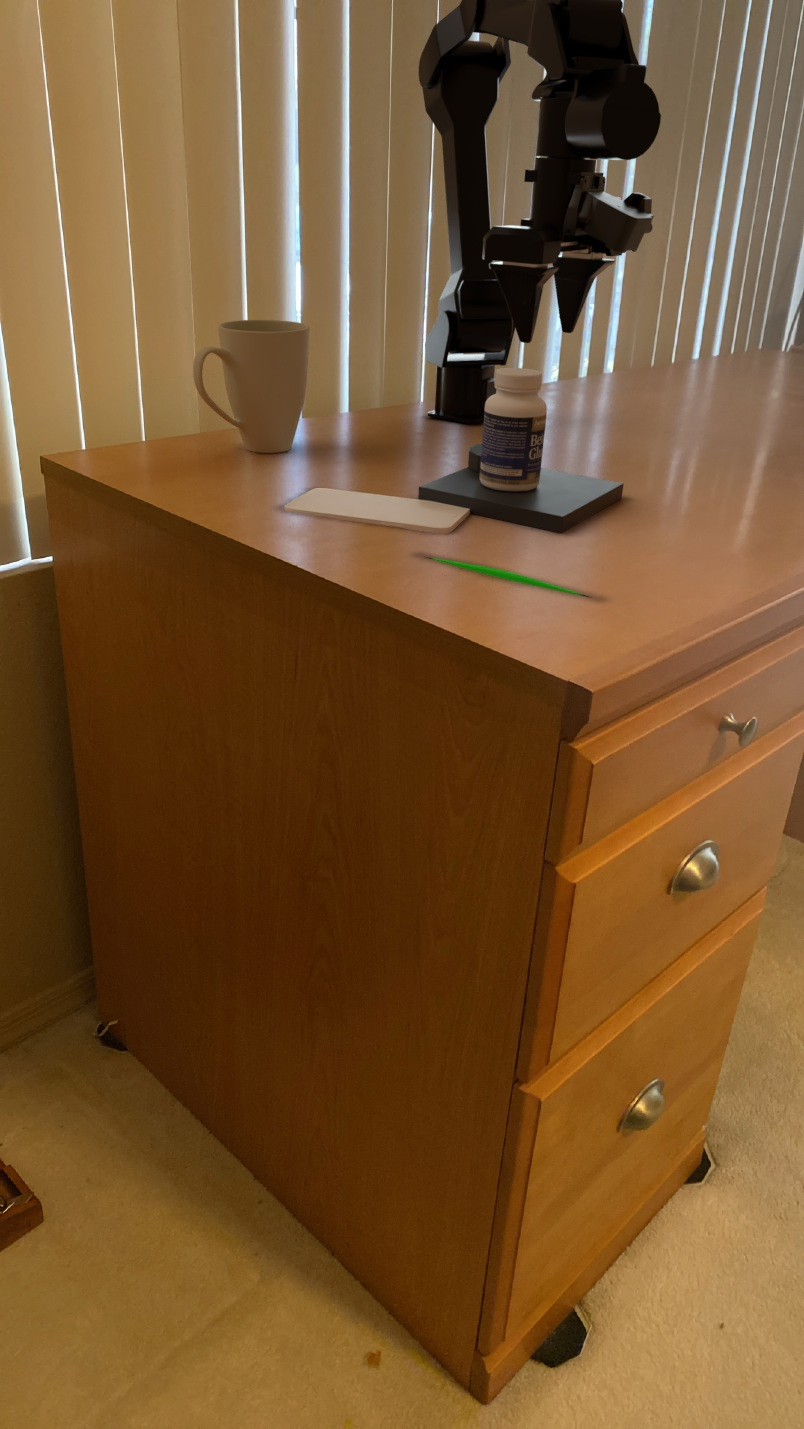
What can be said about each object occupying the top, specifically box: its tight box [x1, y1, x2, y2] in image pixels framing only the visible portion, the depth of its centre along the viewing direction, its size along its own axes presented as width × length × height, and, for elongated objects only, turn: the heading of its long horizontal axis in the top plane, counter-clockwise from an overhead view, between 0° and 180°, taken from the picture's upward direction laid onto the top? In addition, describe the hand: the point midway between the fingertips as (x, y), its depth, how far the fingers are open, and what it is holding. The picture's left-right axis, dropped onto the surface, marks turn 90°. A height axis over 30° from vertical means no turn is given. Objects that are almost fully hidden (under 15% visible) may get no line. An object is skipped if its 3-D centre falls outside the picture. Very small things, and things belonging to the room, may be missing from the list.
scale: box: [417, 443, 625, 534], centre depth 88 cm, size 14×14×3 cm
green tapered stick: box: [424, 556, 593, 599], centre depth 71 cm, size 1×14×1 cm, turn 57°
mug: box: [192, 319, 310, 454], centre depth 99 cm, size 11×10×12 cm
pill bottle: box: [480, 367, 548, 492], centre depth 85 cm, size 5×5×10 cm
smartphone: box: [284, 487, 471, 534], centre depth 84 cm, size 7×1×15 cm
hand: (547, 337), depth 98 cm, fingers open, 9 cm apart
